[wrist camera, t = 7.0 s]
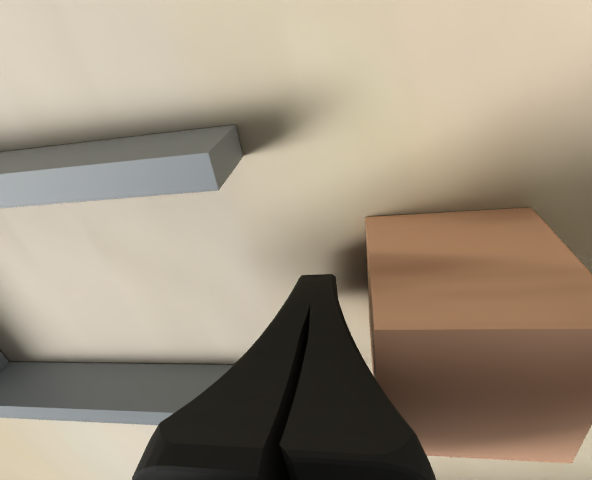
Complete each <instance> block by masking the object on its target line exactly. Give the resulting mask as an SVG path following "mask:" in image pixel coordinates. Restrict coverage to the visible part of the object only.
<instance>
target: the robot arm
mask: <svg viewBox="0 0 592 480" xmlns="http://www.w3.org/2000/svg"><path fill="white" fill-rule="evenodd" d="M132 480H436V478H435V475H434V473H433V470H432V467H431V465H430V463H429V460H428V458H427V456H426V454H425V451H424V449H423V447H422V445H421V443H420V441H419V439H418V437H417V435H416V433H415V432H414V430H413V429H412V428H411V427H410V426H409V424H408V423H407V422H406V421H405V419H404V418H403V417H402V416H401V414H400V413H399V412H398V411H397V409H396V408H395V407H394V405H393V404H392V402H391V401H390V400H389V398H388V397H387V396H386V394H385V393H384V391H383V390H382V388H381V387H380V385H379V384H378V382H377V381H376V379H375V378H374V376H373V374H372V373H371V371H370V370H369V368H368V366H367V365H366V363H365V361H364V359H363V358H362V356H361V354H360V352H359V350H358V348H357V346H356V344H355V342H354V340H353V338H352V336H351V333H350V331H349V329H348V326H347V324H346V321H345V319H344V316H343V313H342V310H341V307H340V304H339V301H338V294H337V284H336V277H335V276H334V275H333V274H324V275H302V276H301V277H300V278H299V280H298V282H297V283H296V285H295V287H294V289H293V290H292V292H291V294H290V295H289V297H288V299H287V300H286V302H285V303H284V305H283V306H282V308H281V309H280V311H279V312H278V314H277V315H276V316H275V318H274V319H273V321H272V322H271V323H270V324H269V326H268V327H267V328H266V330H265V331H264V332H263V334H262V335H261V336H260V337H259V338H258V340H257V341H256V342H255V343H254V344H253V345H252V347H251V348H250V349H249V350H248V351H247V352H246V353H245V354H244V355H243V356H242V357H241V358H240V359H239V360H238V361H237V362H236V363H235V364H234V365H233V366H232V367H231V368H230V369H229V370H228V371H227V372H226V373H225V374H224V375H223V376H221V377H220V378H219V379H218V380H217V381H216V382H214V383H213V384H212V385H211V386H210V387H208V388H207V389H206V390H205V391H204V392H202V393H201V394H200V395H199V396H197V397H196V398H195V399H193V400H192V401H191V402H189V403H188V404H186V405H185V406H183V407H182V408H181V409H179V410H178V411H176V412H175V413H173V414H172V415H170V416H169V417H168V418H166V419H164V420H163V421H161V422H160V423H159V425H158V427H157V428H156V430H155V432H154V434H153V435H152V437H151V439H150V441H149V443H148V445H147V447H146V449H145V451H144V453H143V456H142V458H141V460H140V462H139V464H138V466H137V468H136V471H135V473H134V475H133V477H132Z"/></svg>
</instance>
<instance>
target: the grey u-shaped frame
mask: <svg viewBox="0 0 592 480" xmlns="http://www.w3.org/2000/svg"><path fill="white" fill-rule="evenodd" d="M242 157H243V154H242V150H241V146H240V141H239V137H238V132H237V128H236V125H228V126H219V127H211V128H202V129H193V130H185V131H176V132H168V133H159V134H150V135H142V136H133V137H125V138H116V139H108V140H99V141H90V142H82V143H73V144H65V145H56V146H47V147H39V148H30V149H22V150H13V151H4V152H0V208H9V207H21V206H34V205H46V204H58V203H70V202H82V201H95V200H107V199H119V198H131V197H144V196H156V195H168V194H180V193H193V192H205V191H217V190H219V189H220V188H221V186H222V185H223V184H224V182H225V181H226V179H227V178H228V177H229V175H230V174H231V173H232V171H233V170H234V168H235V167H236V166H237V164H238V163H239V161H240V160H241V159H242ZM232 366H233V365H203V364H127V363H51V362H9V361H8V360H7V358H6V357H5V356H4V355H3V354H2V352H1V351H0V418H18V419H39V420H60V421H81V422H102V423H123V424H144V425H159V423H160V422H161V421H163V420H164V419H166V418H168V417H169V416H170V415H172V414H173V413H175V412H176V411H178V410H179V409H181V408H182V407H183V406H185V405H186V404H188V403H189V402H191V401H192V400H193V399H195V398H196V397H197V396H199V395H200V394H201V393H202V392H204V391H205V390H206V389H207V388H208V387H210V386H211V385H212V384H213V383H214V382H216V381H217V380H218V379H219V378H220V377H221V376H223V375H224V374H225V373H226V372H227V371H228V370H229V369H230V368H231V367H232Z"/></svg>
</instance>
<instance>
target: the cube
mask: <svg viewBox="0 0 592 480" xmlns="http://www.w3.org/2000/svg"><path fill="white" fill-rule="evenodd" d="M365 220H366V245H367V271H368V297H369V323H370V339H371V354H372V369H373V376H374V378H375V379H376V381H377V382H378V384H379V385H380V387H381V388H382V390H383V391H384V393H385V394H386V396H387V397H388V398H389V400H390V401H391V402H392V404H393V405H394V407H395V408H396V409H397V411H398V412H399V413H400V414H401V416H402V417H403V418H404V419H405V421H406V422H407V423H408V424H409V426H410V427H411V428H412V429H413V430H414V432H415V433H416V435H417V437H418V439H419V441H420V443H421V445H422V447H423V449H424V451H425V454H426V455H427V456H446V457H465V458H484V459H502V460H521V461H540V462H559V463H572V462H573V460H574V458H575V456H576V454H577V452H578V450H579V448H580V446H581V444H582V442H583V440H584V439H585V437H586V435H587V433H588V431H589V429H590V427H591V425H592V274H591V273H590V272H589V270H588V269H587V268H586V267H585V266H584V265H583V264H582V263H581V262H580V261H579V259H578V258H577V257H576V256H575V255H574V254H573V253H572V252H571V251H570V250H569V248H568V247H567V246H566V245H565V244H564V243H563V242H562V241H561V240H560V239H559V237H558V236H557V235H556V234H555V233H554V232H553V231H552V230H551V229H550V228H549V226H548V225H547V224H546V223H545V222H544V221H543V220H542V219H541V218H540V217H539V216H538V214H537V213H536V212H535V211H534V210H533V209H532V208H531V207H528V208H511V209H494V210H477V211H460V212H443V213H426V214H409V215H392V216H375V217H365Z"/></svg>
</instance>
